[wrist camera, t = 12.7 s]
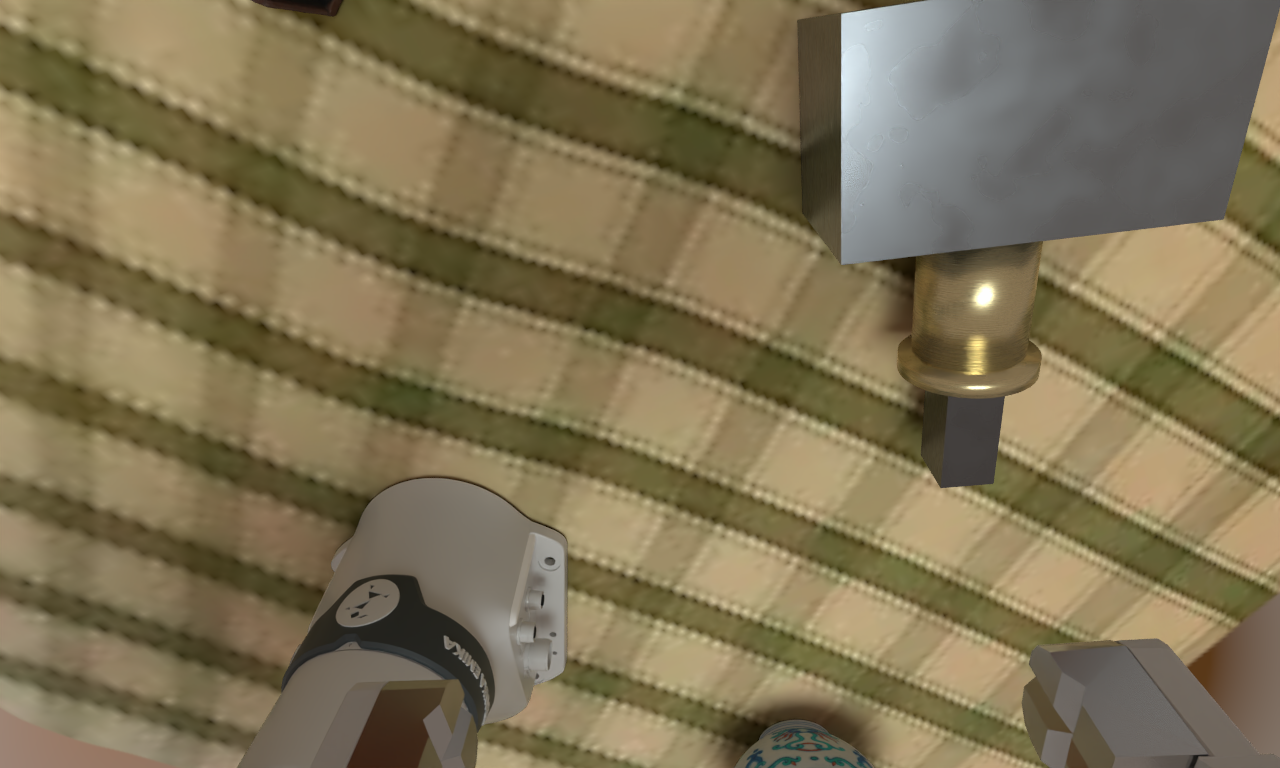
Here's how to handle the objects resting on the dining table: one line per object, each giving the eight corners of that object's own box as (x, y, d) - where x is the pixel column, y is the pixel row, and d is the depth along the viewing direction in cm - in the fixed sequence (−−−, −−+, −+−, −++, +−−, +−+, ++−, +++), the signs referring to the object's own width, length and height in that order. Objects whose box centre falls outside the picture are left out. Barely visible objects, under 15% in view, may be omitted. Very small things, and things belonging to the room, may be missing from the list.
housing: (1091, 176, 37) (1223, 219, 28) (802, 212, 39) (841, 264, 30) (1126, -32, 32) (1297, -58, 24) (797, 20, 34) (841, 13, 25)
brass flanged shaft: (991, 432, 43) (1046, 499, 37) (879, 442, 44) (914, 510, 38) (1020, 199, 36) (1094, 233, 30) (886, 215, 37) (930, 252, 31)
